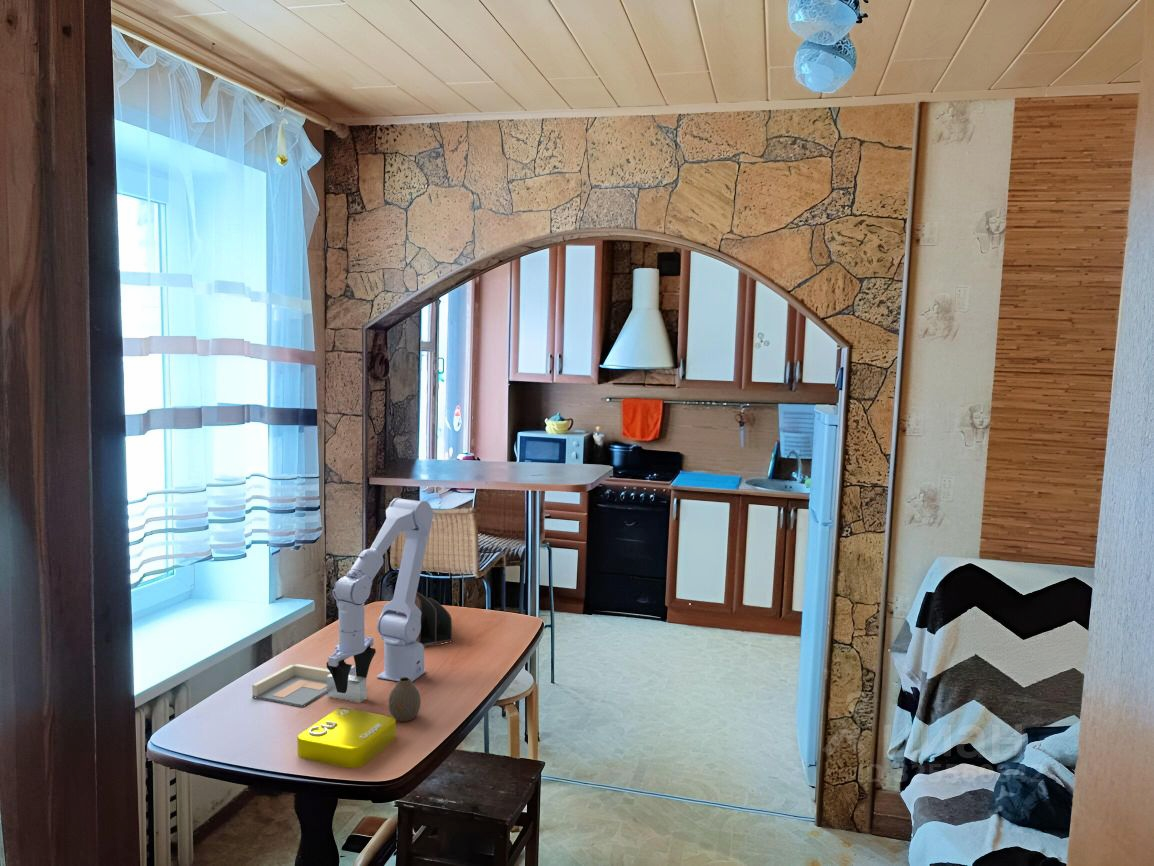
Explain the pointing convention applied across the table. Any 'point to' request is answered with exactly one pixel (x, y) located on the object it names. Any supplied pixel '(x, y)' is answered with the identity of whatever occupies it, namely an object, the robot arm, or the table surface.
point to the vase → (404, 700)
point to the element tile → (347, 737)
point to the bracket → (348, 687)
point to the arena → (293, 685)
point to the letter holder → (433, 622)
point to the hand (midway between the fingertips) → (351, 685)
